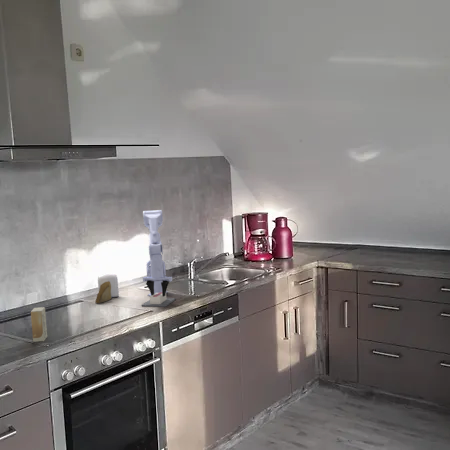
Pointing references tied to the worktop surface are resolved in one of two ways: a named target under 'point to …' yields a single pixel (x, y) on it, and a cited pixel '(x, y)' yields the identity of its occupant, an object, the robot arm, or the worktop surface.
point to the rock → (104, 293)
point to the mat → (163, 304)
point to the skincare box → (39, 324)
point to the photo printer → (112, 279)
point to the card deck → (157, 298)
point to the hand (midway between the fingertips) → (158, 295)
